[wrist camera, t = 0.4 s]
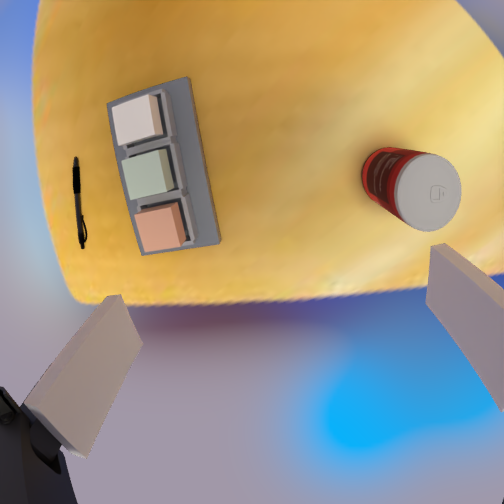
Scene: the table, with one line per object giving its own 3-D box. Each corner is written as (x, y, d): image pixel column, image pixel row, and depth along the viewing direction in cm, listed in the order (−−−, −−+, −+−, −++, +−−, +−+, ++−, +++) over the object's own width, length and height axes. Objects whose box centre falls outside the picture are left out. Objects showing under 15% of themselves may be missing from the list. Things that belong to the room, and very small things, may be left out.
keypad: (112, 104, 30) (98, 102, 27) (190, 78, 29) (182, 73, 26) (145, 251, 38) (135, 261, 35) (221, 239, 37) (217, 250, 34)
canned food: (419, 194, 33) (466, 218, 23) (369, 213, 35) (405, 244, 24) (405, 140, 30) (454, 145, 20) (352, 156, 32) (387, 166, 22)
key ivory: (121, 108, 27) (111, 107, 25) (156, 97, 27) (148, 94, 24) (128, 144, 29) (118, 145, 27) (163, 134, 28) (155, 134, 26)
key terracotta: (142, 209, 32) (134, 214, 29) (177, 201, 31) (170, 207, 29) (152, 244, 33) (144, 252, 31) (186, 238, 33) (180, 246, 31)
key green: (131, 158, 29) (121, 160, 27) (166, 148, 29) (158, 150, 27) (139, 195, 31) (130, 200, 29) (174, 187, 31) (167, 191, 28)
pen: (90, 247, 39) (88, 250, 38) (80, 247, 39) (78, 250, 38) (83, 155, 34) (81, 156, 33) (73, 156, 33) (71, 157, 32)
